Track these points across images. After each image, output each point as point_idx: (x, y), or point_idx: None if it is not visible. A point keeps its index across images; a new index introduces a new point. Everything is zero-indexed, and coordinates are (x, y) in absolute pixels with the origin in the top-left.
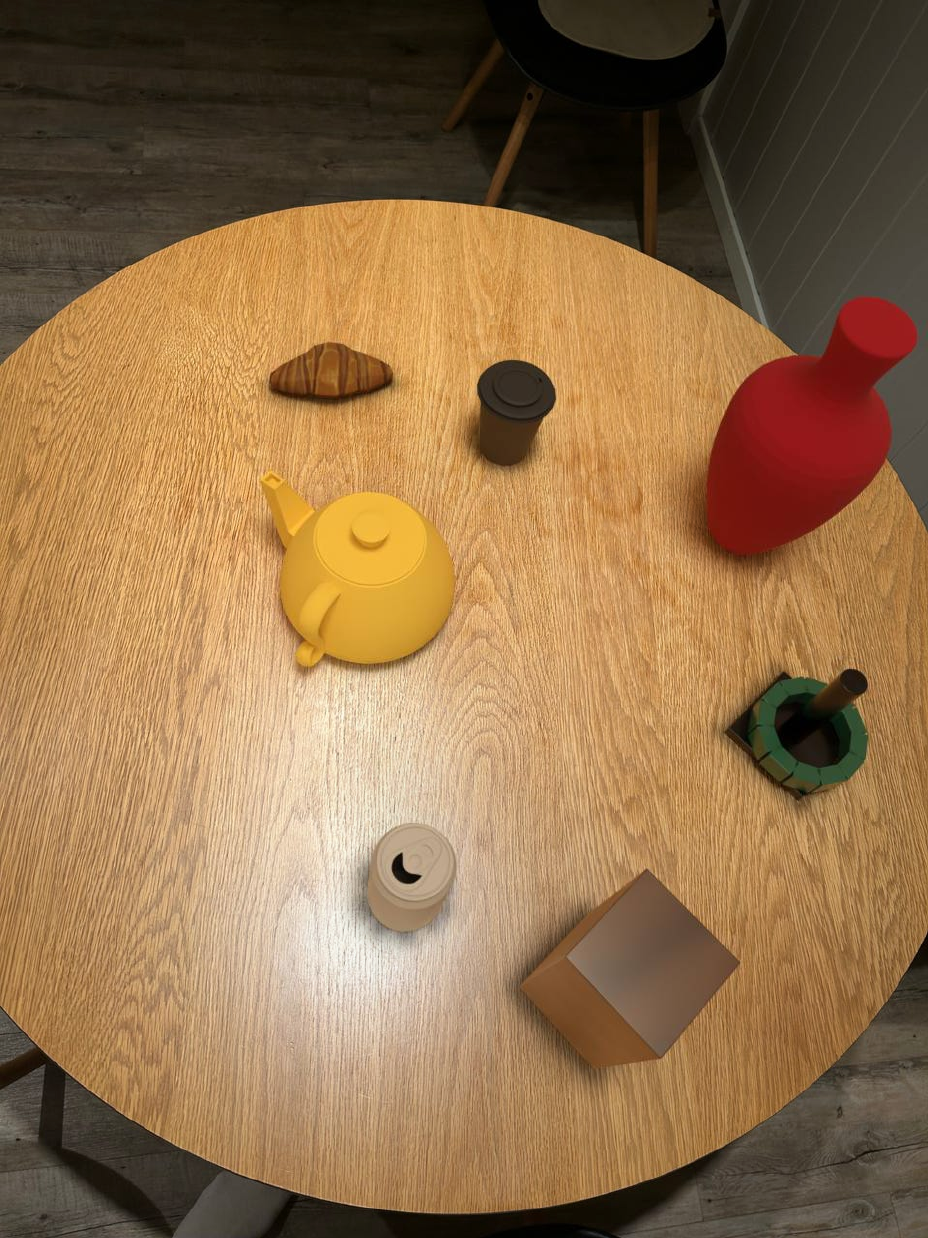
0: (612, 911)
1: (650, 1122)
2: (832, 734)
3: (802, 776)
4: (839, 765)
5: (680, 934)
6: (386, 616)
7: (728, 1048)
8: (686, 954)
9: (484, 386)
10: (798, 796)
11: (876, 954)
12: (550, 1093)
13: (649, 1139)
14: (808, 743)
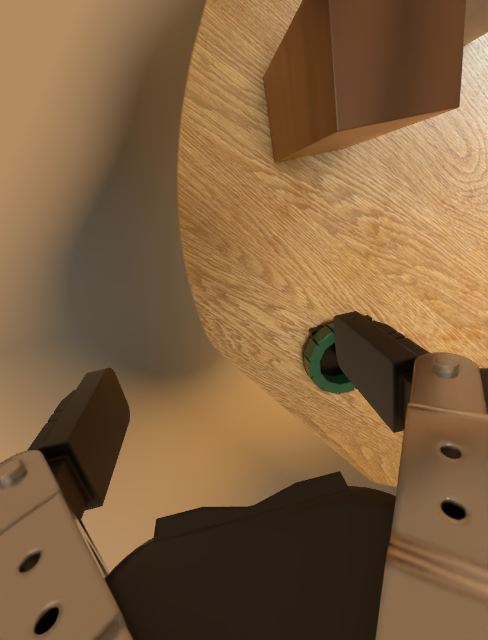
0: (461, 31)
1: (212, 93)
2: (327, 371)
3: (328, 337)
4: (318, 362)
5: (395, 89)
6: None
7: (220, 182)
8: (379, 79)
9: None
10: (312, 330)
11: (212, 311)
12: (268, 32)
13: (203, 84)
14: (333, 355)
